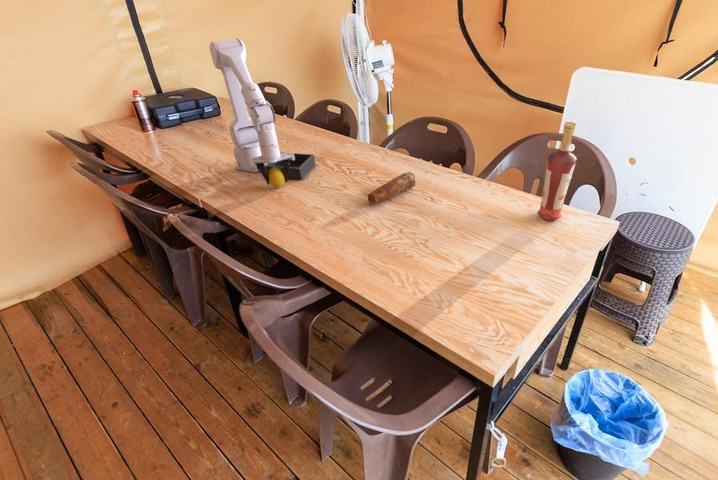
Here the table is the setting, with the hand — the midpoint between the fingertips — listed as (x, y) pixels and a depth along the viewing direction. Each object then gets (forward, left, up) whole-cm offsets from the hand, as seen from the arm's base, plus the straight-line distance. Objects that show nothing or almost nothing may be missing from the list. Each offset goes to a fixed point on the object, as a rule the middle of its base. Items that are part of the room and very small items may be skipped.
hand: (277, 182), depth 139 cm
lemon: (0, 0, -3) cm, 3 cm away
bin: (-4, +14, -2) cm, 15 cm away
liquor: (+90, +11, -3) cm, 91 cm away
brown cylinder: (+40, +8, -3) cm, 41 cm away
